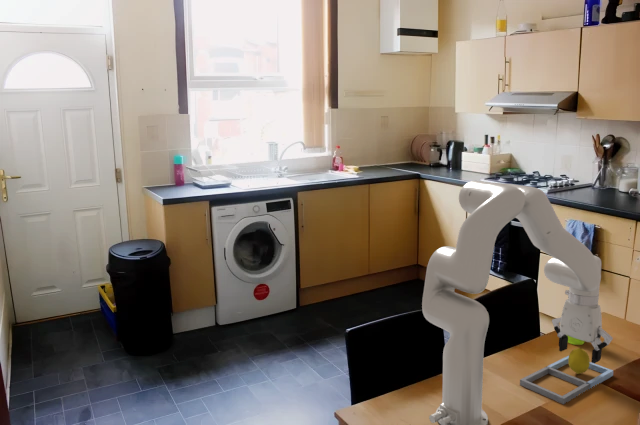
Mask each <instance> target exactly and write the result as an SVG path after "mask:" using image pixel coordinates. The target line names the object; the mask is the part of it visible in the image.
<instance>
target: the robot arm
mask: <svg viewBox="0 0 640 425" xmlns="http://www.w3.org/2000/svg"><path fill="white" fill-rule="evenodd" d="M458 203H459V206H460V207H461V208H462V209H463V211H465V212H466V213H468V214H469V215H468V216H467V218H465V219H464V221H463V222H462V224H461V227H460V228H459V232H458V236H457V241H456V246H455V247H454V246H449V245H447V246H446V245H445V246H441V247H439V248H438V249H436V250H435V251H434V252H433V253H432V255H431V256H430V258H429V261H428V262H427V263H428V264H427V266H426V272H425V280H424V286H423V293H422V299H421V300H422V302H421V305H422V306H421V308H422V314H423V317H424V318H425V320H426V321H427V322H429V323H430V324H432V325H434V326H436V327H438V328H441V330H444V331H446V332H448V333H449V339H448V340H447V341H446V343H445V345H444V347H443V351H442V352H443V353H442V390H441V392H442V393H441V394H442V395H441V396H442V399H441V403H439V406H438V407H437V408H436V411H435V412H434V413H432V414H430V415H429V418H428V419H429V421H430V423H431V424H436V423H438V424H440V425H488V422H489V418H488V417H489V416H488V414H487V413H486V411H485V410H484V409H483V383H484V382H483V380H484V352H485V343H486V342H485V341H486V337H487V332H488V328H489V325H490V315H489V312H488V311H487V310H488V309H487V308H486V307H485V306H484V305H483V304H482V303H480V302H479V301H477V300H475V299H473V298H470V297H467V296H466V295H462V294H460V293H458V292H455V289H456V290H458V291H461V292H465V293H467V294H476V295H477V294H480V293H482V292H483V291H484V290H486V288H487V285H488V282H489V279H490V275H491V274H490V273H491V266H492V260H493V256H494V249H495V243H496V241H497V237H498V235H499V234H500V232H501V231H502V230H503V228H504V227H505V226H506V225H507V224H508V223H510V222H511V221H512V220H514V219H517V220H518V221H519V222H520V225H521V226H522V227H523V229H524V231H525V233H526V234H527V236H528V238H529V240H530V242H531V243H532V245H533V246H534V247H535V248H537V249H539V250H540V251H541V252H543V253H545V254H547V255H549V256H550V257H552V258H550V259H548V260H547V262H546V263H545V265H544V268H543V272H544V276H545V277H546V278H547V280H549V281H550V282H552V283H554V284H557V285H561V286H564V287H569V289H565V291H564V294H565V295H567V296H568V297H567V299H565V301H564V304H563V306H562V307H563V308H562V311H561V316H560V317H557V318H552V319H551V322H552V325H553V328H554V331H555V332H556V334H557V337H558V347H559V348H558V351H559V352H564V351H565V350H567V349H568V345H569V343H568V336H570V337H573V338H576V339H579V340H582V341H585V342H586V343H591V345H592V347H593V349H592V351H591V361H590V362H592V363H594V364H596V363H598V362H599V361H601V359H602V352H603V351H602V350H603V349H604V348H606V347H607V346H609V345H610V343H612V341H613V339H614V338H613V336H611V334H609V333H608V332H607V331H605V329H603V324H602V323H603V319H602V318H603V317H602V311H601V305H599V298H600V297H599V296H600V285H601V279H602V259H601V258H600V257H599V256H596V255H594V254H593V253H592V251H590V249H589V248H588V247H587V246H586V245H585V244H584V243H583V242H581V241H580V240H579V239H577V238H576V237H575V236H574V235H573V234H571V233H570V232H569V231H568V230H566V229H565V228H564V227H563V224H562V223H561V221H560V219H559V217H558V216H557V214H556V212H555V210H554V209H555V208H553V206H552V203H551V201H550V199H549V198H548V196H547V195H546V193H545V192H544V191H543V190H541V189H540V188H537V187H534V186H529V185H520V184H515V183H514V184H513V183H502V182H501V183H499V182H490V181H481V180H470V181H468V182H466V183H465V184H464V185H462V187H461V189H460V190H459V194H458ZM566 335H567V336H566ZM601 337H602V338H603V339H604V340H603V341H602V340H601Z"/></svg>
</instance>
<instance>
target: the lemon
mask: <svg viewBox="0 0 640 425" xmlns="http://www.w3.org/2000/svg"><path fill="white" fill-rule="evenodd" d="M568 356H569V358H568V366H569V368H570V369H571V371H572V372H574V373H576V374H577V375H581V374H583V373H586V372H587V371H588V370H589V364H590V362H591V361H590V355H589V353H588V352H587V351H586V350H584V349H583V348H580V347H578V348H574V349H572V350H571V351H570V353H569V355H568Z"/></svg>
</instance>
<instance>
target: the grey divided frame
mask: <svg viewBox="0 0 640 425" xmlns="http://www.w3.org/2000/svg"><path fill="white" fill-rule="evenodd" d="M568 358H569V355H567V356H564V357H563V358H560V359H559V360H557V361H555V362H553V363H550V364H548V365H546V366H544V367H543V368H541V369H538V370H537V371H534V372H532V373H530V374H529V375H526V376H525V377H523V378H520V379H519V385H520V386H521V387H524V388H525V389H528V390H530V391H532V392H535V393H537V394H539V395H541V396H544V397H546V398H548V399H551V400H553V401H555V402H557V403H559V404H561V405H565V404H567V403H568V402H570V401H572V400H573V398H574V399H576V398H577V397H579V396H580V395H579V394H581V393H582V394H584V393H585V391H586V390H587V391H589V390H590V388H591V389H593V388H594V387H596V386H597V384H598V385H599V383H600V384H601V383H603V382H604V381H606V380H608V379H610V378H611V377H613V376H614V370H613V369H611V368H607V367H605V366H602V365H599V364H596V363H592V362H591V361H590V364H589V368H588V370H592V371H595V372H596V373H597V372H598V373H600V374H599V375H597V376H595V377H593V378H592V379H590V380H588V381H586V380H583V379H581V378H578V377H576V376H573V375H571V374H568V373H565V372H564V371H561V370H559V369H560V368H562V367H563V366H566V365H569V363H568ZM546 375H550V376H553V377H555V378H557V379H561V380H562V381H565V382H568V383H570V384H573V385H576V386H578V387H576V388H574V389H573V390H571V391H568V392H567V393H565V394H563V395H562V394H560V393H559V394H558V393H556V392H554V391H551V390H550V389H548V388H545V387H543V386H540V385H538V384H536V383H533V382H535V381H536V380H538V379H540V378H542V377H545V376H546ZM595 385H596V386H595ZM593 386H594V387H593ZM592 387H593V388H592ZM588 389H589V390H588ZM587 391H586V392H587ZM583 392H584V393H583ZM582 394H581V395H582ZM578 395H579V396H578ZM576 396H577V397H576ZM571 399H572V400H571ZM566 402H567V403H566Z"/></svg>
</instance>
